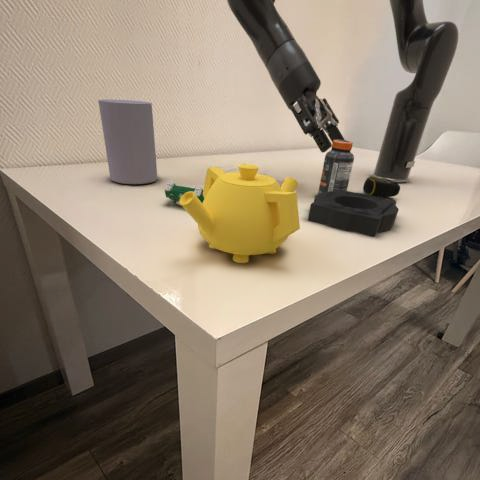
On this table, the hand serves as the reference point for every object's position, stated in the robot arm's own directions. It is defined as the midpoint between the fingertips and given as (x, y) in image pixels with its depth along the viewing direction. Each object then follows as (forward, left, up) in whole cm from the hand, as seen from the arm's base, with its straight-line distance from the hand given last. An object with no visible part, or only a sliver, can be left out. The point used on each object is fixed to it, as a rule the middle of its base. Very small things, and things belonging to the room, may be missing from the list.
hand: (334, 147), depth 69 cm
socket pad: (+11, +9, -10) cm, 18 cm away
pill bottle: (0, +1, -10) cm, 10 cm away
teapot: (+36, +1, -10) cm, 38 cm away
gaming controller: (+26, -18, -10) cm, 33 cm away
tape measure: (-10, +9, -10) cm, 17 cm away
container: (+20, -39, -10) cm, 45 cm away
